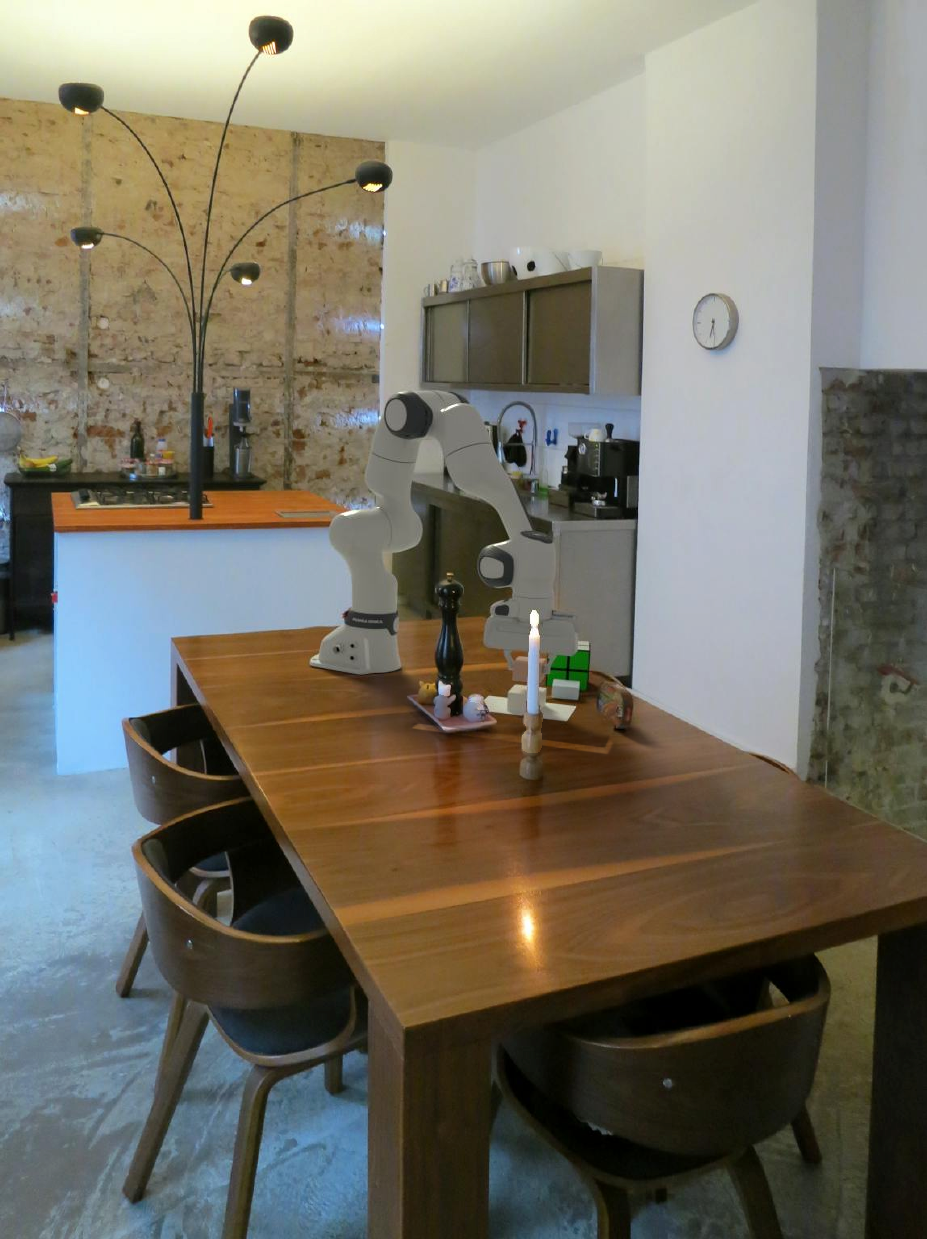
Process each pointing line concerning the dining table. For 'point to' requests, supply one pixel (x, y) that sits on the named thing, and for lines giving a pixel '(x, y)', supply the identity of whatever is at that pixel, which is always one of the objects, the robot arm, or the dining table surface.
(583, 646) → the puzzle cube
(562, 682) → the blue brick
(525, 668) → the terracotta brick
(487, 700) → the board
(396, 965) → the dining table surface
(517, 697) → the base brick
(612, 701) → the tin
